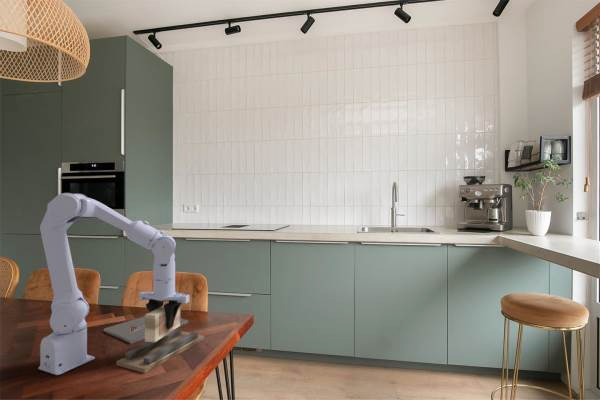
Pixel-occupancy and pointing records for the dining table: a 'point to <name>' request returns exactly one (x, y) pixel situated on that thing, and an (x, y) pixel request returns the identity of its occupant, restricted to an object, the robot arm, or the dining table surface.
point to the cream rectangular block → (158, 324)
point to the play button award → (125, 332)
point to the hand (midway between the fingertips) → (164, 327)
